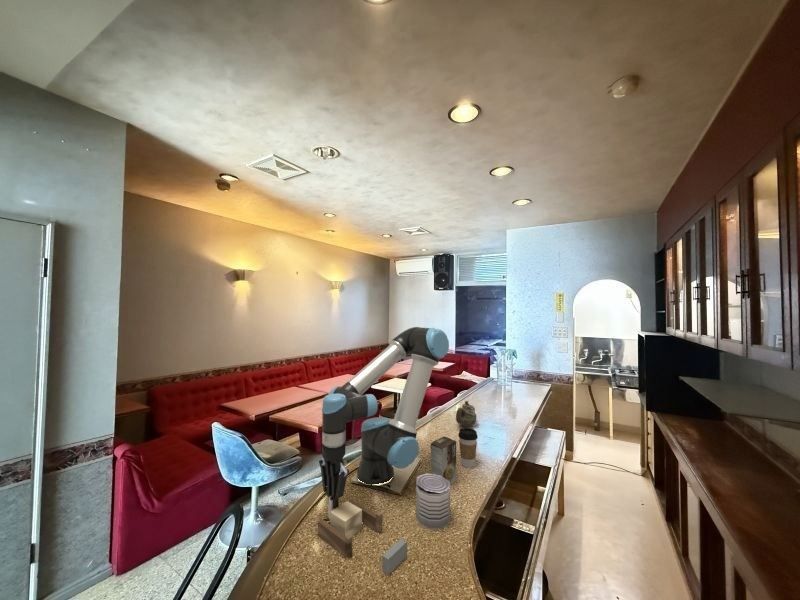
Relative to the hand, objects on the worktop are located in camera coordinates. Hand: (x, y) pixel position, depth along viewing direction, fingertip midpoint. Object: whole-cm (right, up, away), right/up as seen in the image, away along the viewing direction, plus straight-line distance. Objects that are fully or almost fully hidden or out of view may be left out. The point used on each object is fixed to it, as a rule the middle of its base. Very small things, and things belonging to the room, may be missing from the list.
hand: (333, 516), depth 100 cm
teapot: (+60, -4, +80) cm, 101 cm away
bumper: (+20, -1, -16) cm, 26 cm away
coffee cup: (+52, -3, +36) cm, 63 cm away
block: (+5, -2, -4) cm, 6 cm away
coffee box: (+39, -2, +22) cm, 45 cm away
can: (+33, -2, +2) cm, 33 cm away
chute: (+6, -1, -5) cm, 8 cm away
